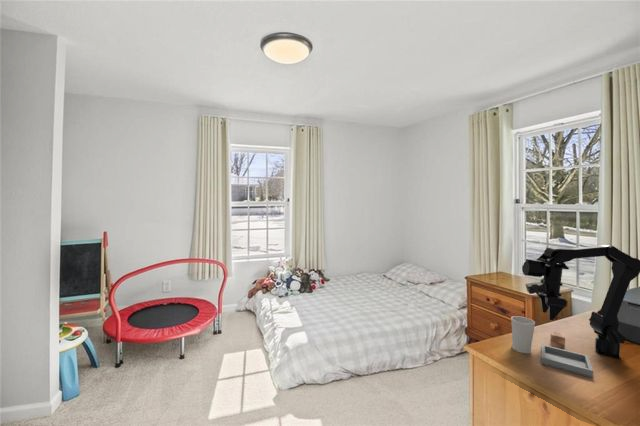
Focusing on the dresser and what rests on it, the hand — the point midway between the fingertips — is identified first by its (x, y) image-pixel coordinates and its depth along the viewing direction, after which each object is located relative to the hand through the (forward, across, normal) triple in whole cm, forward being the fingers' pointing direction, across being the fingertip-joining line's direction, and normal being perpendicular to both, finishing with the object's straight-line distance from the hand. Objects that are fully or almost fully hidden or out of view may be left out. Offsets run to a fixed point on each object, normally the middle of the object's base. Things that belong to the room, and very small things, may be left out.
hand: (547, 316), depth 124 cm
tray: (+13, +12, +4) cm, 18 cm away
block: (+13, -4, +6) cm, 14 cm away
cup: (+14, +6, -9) cm, 18 cm away
